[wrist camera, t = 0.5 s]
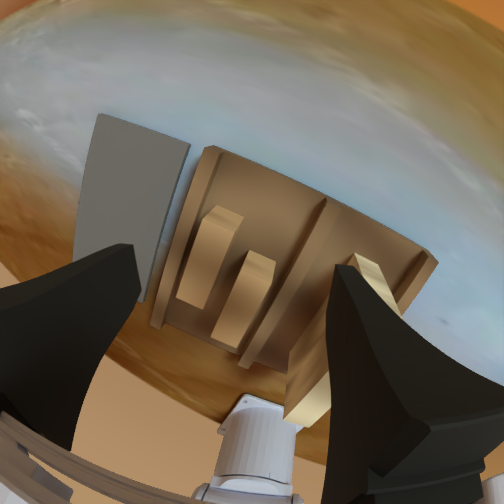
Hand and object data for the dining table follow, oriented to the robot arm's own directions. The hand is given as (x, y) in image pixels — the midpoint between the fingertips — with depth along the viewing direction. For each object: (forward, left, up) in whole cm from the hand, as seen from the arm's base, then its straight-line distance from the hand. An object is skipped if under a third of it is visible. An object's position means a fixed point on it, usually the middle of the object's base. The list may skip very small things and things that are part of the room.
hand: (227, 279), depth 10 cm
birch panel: (-5, -8, -10) cm, 14 cm away
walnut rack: (-5, -4, -11) cm, 13 cm away
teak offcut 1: (-4, +2, -10) cm, 11 cm away
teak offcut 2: (-6, -1, -10) cm, 12 cm away
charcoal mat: (-5, +10, -11) cm, 16 cm away
